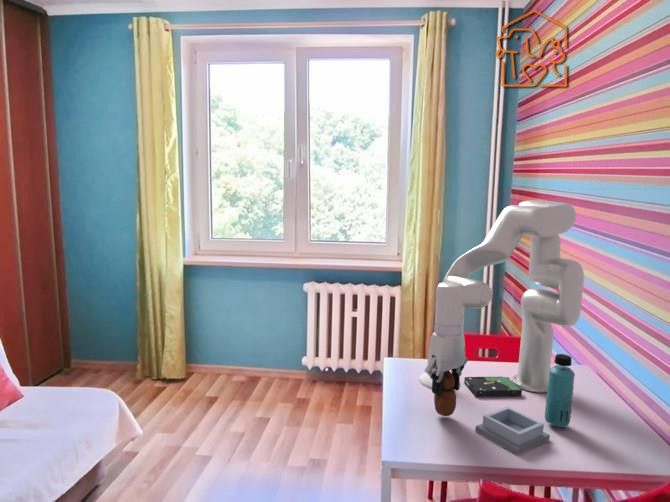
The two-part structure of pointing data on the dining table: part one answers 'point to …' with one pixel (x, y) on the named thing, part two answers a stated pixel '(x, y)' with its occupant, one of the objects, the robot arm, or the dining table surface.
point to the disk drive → (492, 387)
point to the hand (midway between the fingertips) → (445, 390)
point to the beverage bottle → (560, 392)
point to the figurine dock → (512, 430)
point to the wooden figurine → (446, 396)
